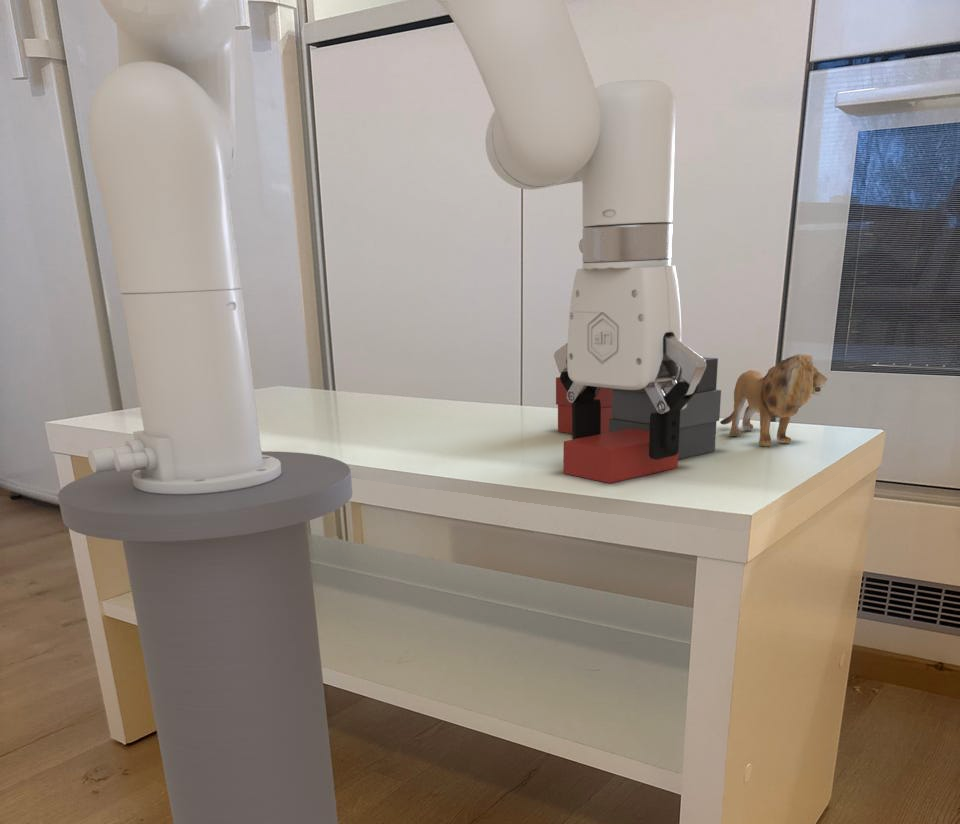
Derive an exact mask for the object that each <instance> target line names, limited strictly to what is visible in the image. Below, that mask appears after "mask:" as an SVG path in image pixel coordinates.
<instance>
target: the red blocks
mask: <svg viewBox="0 0 960 824" xmlns="http://www.w3.org/2000/svg"><path fill="white" fill-rule="evenodd" d="M595 399H598V400H600V403H601V434H604V433H609V419H612V390H611V389H608V388H604V387H601V389H600V390H599V392H598V393H597V395H596V397H595V398H594V400H595ZM555 405H557V432H560V433H567V434H572V403H570V402H569V401H568V399H567V391H566V389H565V387H564V386H563V384H562V383H561V381H560V376H558V377H555Z"/></svg>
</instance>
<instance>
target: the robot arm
mask: <svg viewBox="0 0 960 824" xmlns="http://www.w3.org/2000/svg"><path fill="white" fill-rule="evenodd" d="M99 1H100V3H101V5H102V6H103V8H104V10H105V11H106V12H107V14H108V15H109V17H110V18H111V19H112V21H114V23H115V25H116V31H117V33H116V34H117V51H118V52H117V54H118V67H117V68H116V69H114V70H113V71H112V72H110V73H109V74H108V75H107V76H106V77H105V79H104V80H103V81H102V82H101V84H100V85H99V87H98V88H97V90H96V91H95V94H94V96H93V98H92V102H91V105H90V109H89V115H88V142H89V149H90V150H89V151H90V154H91V160H92V161H91V162H92V166H93V170H94V172H95V177H96V181H97V185H98V189H99V194H100V198H101V202H102V206H103V209H104V212H105V217H106V218H105V219H106V221H107V227H108V230H109V236H110V240H111V246H112V251H113V256H114V257H113V258H114V262H115V268H116V274H117V279H118V286H119V292H120V294H121V299H122V306H123V312H124V318H125V323H126V324H125V325H126V329H127V335H128V340H129V341H128V343H129V347H130V353H131V359H132V365H133V372H134V377H135V379H134V380H135V384H136V390H137V397H138V402H139V408H140V415H141V421H142V426H143V430H136V431H133V432H132V434H133V435H132V436H133V440H126V441H125V442H124V445H122V446H115V447H114V446H113V447H112V446H107V447H101V448H92V449H88V451H87V459H88V465H89V468H90V469H91V471H92V472H93V474H94V473H99V472H105V471H112V470H117V471H118V472H121V471H128V470H133V471H134V472H133V474H132V478H133V484H134V487H136V488H137V489H138V490H141V491H143V492H148V493H153V494H164V495H195V494H209V493H219V492H227V491H234V490H239V489H245V488H250V487H254V486H258V485H261V484H264V483H268V482H270V481H272V480H274V479H276V478H278V477H279V476H280V474H281V473H282V472H281V462H280V461H279V460H278V459H276V458H274V457H271V456H267V455H262V452H261V451H262V445H261V437H260V428H259V419H258V411H257V404H256V402H257V401H256V393H255V388H254V377H253V370H252V362H251V361H252V360H251V353H250V345H249V336H248V330H247V329H248V327H247V322H246V311H245V304H244V303H245V301H244V294H243V288H242V282H241V273H240V266H239V257H238V249H237V242H236V234H235V228H234V221H233V213H232V208H231V201H230V193H229V187H228V184H229V182H230V180H231V178H232V176H233V173H234V169H235V165H236V156H237V103H236V101H237V100H236V99H237V98H236V97H237V95H236V93H237V92H236V88H237V87H236V83H237V82H236V18H235V5H234V0H99ZM435 1H436V2H437V3H438V4H439V5H440V6H441V7H442V8H443V9H444V10H445V12H447V14H448V16H450V19H451V20H452V22H453V23H454V25H455V26H456V28H457V30H458V31H459V33H460V34H461V36H462V38H463V40H464V42H465V44H466V46H467V48H468V50H469V52H470V54H471V57H472V58H473V61H474V63H475V66H476V67H477V70H478V73H479V74H480V76H481V79H482V82H483V84H484V87H485V88H486V89H485V90H486V91H487V94H488V96H489V98H490V101H491V103H492V106H493V109H494V111H493V113H492V115H491V117H490V119H489V121H488V124H487V127H486V132H485V151H486V156H487V159H488V162H489V164H490V166H491V168H492V170H493V171H494V172H495V173H496V175H497V176H498V177H499V178H500V179H502V180H503V181H504V182H505V183H507V184H508V185H510V186H513V187H515V188H517V189H521V190H522V189H523V190H532V191H533V190H541V189H546V188H550V187H554V186H560V185H567V184H572V183H577V182H578V183H581V182H582V183H581V184H582V238H581V239H580V240H579V243H578V248H579V251H580V253H581V254H582V268H577V269H576V271H575V276H574V280H573V285H572V290H571V292H572V293H571V297H570V298H571V299H570V306H569V315H568V316H569V317H568V327H567V328H568V330H567V343H565V344H564V345H563V346H561V347H560V348H558V349H557V350H556V351H555V352H554V354H553V357H554V361H555V364H556V367H557V370H558V372H559V377H560V381H561V383H562V384H563V386H564V387H565V389H566V391H567V399H568V401H569V402H570V403H572V433H571V440H572V439H578V438H583V437H588V436H594V435H599V434H601V403H600V400H598V399H595V400H594V398H595V397H596V395H597V393H598V392H599V390H600V389H601V387H604V388H614V389H624V390H639V389H642V388H644V389H645V391H646V392H647V394H648V396H649V398H650V400H651V401H652V403H653V405H654V407H655V409H656V410H657V412H655V413H651V416H650V436H649V456H650V458H651V459H655V460H658V459H662V458H666V457H671V456H675V455H677V454H678V450H679V429H680V410H684V409H685V408H686V407H687V402H688V401H689V400H690V399H691V398H692V396H693V395H694V394H695V393H696V392H697V389H698V386H697V384H698V383H699V382H700V380H701V378H702V376H703V373H704V371H705V369H706V366H707V363H706V361H705V360H704V359H703V358H702V356H700V354H698V353H697V352H695V351H694V350H693V349H691V348H690V347H689V346H688V345H686V344H685V343H684V342H683V341H682V314H681V313H682V312H681V301H680V300H681V298H680V289H679V280H678V275H677V270H676V265H672V243H673V241H672V240H673V224H672V223H673V213H674V211H673V210H674V181H675V179H674V178H675V147H676V116H677V109H676V107H677V106H676V105H677V102H676V96H675V94H674V91H673V89H672V87H670V86H669V85H668V84H667V83H665V82H661V81H658V80H652V79H651V80H650V79H630V80H620V81H619V80H618V81H613V82H608V83H603V84H600V85H598V86H596V85H595V82H594V80H593V77H592V74H591V71H590V69H589V66H588V63H587V60H586V58H585V55H584V52H583V49H582V46H581V43H580V41H579V38H578V34H577V33H576V29H575V27H574V25H573V22H572V20H571V17H570V14H569V11H568V9H567V7H566V5H565V3H564V1H563V0H435ZM680 367H681V370H682V373H681V376H680V381H679V382H677V381H676V380H677V378H678V375H679V371H680ZM662 388H663V389H664V391H665V393H666V394H667V395H665V393H664V392H663V390H662ZM135 470H136V471H135Z"/></svg>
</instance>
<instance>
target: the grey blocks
mask: <svg viewBox="0 0 960 824" xmlns="http://www.w3.org/2000/svg"><path fill="white" fill-rule="evenodd" d="M701 357H702V356H701ZM702 358H703V359H704V360H705V361H706V363H707V366H706V369H705V371H704V373H703V376H702V378H701V380H700V382H699V383H698V384H697V386H698V389H697V392H696V393H695V394H694V395H693V396H692V398H691V399H690V400H689V401H688V402H687V407H686V408H685V409H684V410H680V429H679V450H678V460H681V459H687V458H690V457H695V456H699V455H705V454H709V453H714V452H715V451H716V438H717V437H716V436H717V422H719V421H720V417H721V401H722V400H721V399H722V390H721V389H717V383H718V382H717V381H718V367H719V366H718V364H719V358H717V357H705V356H703V357H702ZM681 373H682V370H681V367H680V371H679V375H678V378H677V380H676V381H677V382H679V381H680V376H681ZM608 389H611V390H612V419H609V433H610V432H615V431H620V430H626V429H631V428H632V429H639V430H645V431H650V416H651V413H655V412H657V410H656V409H655V407H654V405H653V403H652V401H651V400H650V398H649V396H648V394H647V392H646V391H645V389H644V388H642V389H639V390H624V389H614V388H608ZM662 390H663V392H664V393H665V391H664V389H663V388H662ZM665 395H667V394H666V393H665Z"/></svg>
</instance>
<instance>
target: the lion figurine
mask: <svg viewBox="0 0 960 824" xmlns="http://www.w3.org/2000/svg"><path fill="white" fill-rule="evenodd" d="M827 380H828V377H827V376H825V375H824V374H822V373H821V372H820V371H819V370H818V368H817V367H816V366H814V362H813V356H812V355H808V354H805V353H804V354H802V353H797V354H795V355H793V356H789V357H787V358H785V359H782V360H781V361H779V363H777V364H776V365H774V366H772V367H769V369H768V371H767V373H766V374H765V376H764V374H763V373H762V372H761V371H758V370H753V369H748V370H747V371H745V372H743V373H742V374H740V375H739V376H738V377H737V380H736V383H735V385H734V389H733V411H732V413H731V414H730V415H728V416H727V417H725V418H723V419H722V420H721V421H720V422H719V424H721V425H722V426H723V425H728V424H731V427H730V430H729V436H731V437H735V436H736V437H737V436H740V435H741V430H740V428H739V424H740V420H741V419H740V418H741V417H740V416H741V412H742V411H743V409H744V405H745V403H746V401H747V404H748V405H747V407H746V408H745V410H744V413H743V418H742V423H741V427H742V429H743V430H745V431H751V430H754V424H752V423H751V419H752V417H753V416H754V414H755V413H757V414H759V427H760V429H759V441H758V445H759V446H761V447H770V446H772V437H771V433H770V429H771V421H772V418H777V419H779V420H778V421H779V422H778V426H777V432H776V441H777V442H778V443H780V444H789V443H791V442H792V438H791V437H790V436H787V435H786V433H787V429H788V427H789V424H790V420H791V417H793V416H795V415H797V414H798V411H799V409H800V408H801V407H802V406H804V405H806V404H807V403H809V401H810V400H811V398H812V395H813V396H817V397H818V396H819V395H820V394H821V389H822V388H824V387H825V385H826V382H827Z"/></svg>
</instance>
